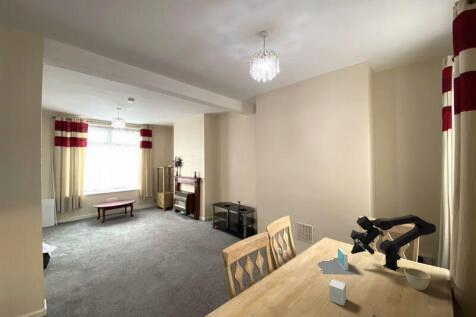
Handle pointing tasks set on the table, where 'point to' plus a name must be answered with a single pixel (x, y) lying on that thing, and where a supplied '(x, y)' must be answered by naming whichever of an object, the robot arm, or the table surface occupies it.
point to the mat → (336, 268)
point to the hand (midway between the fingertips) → (351, 253)
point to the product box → (337, 292)
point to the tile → (343, 258)
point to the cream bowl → (417, 278)
